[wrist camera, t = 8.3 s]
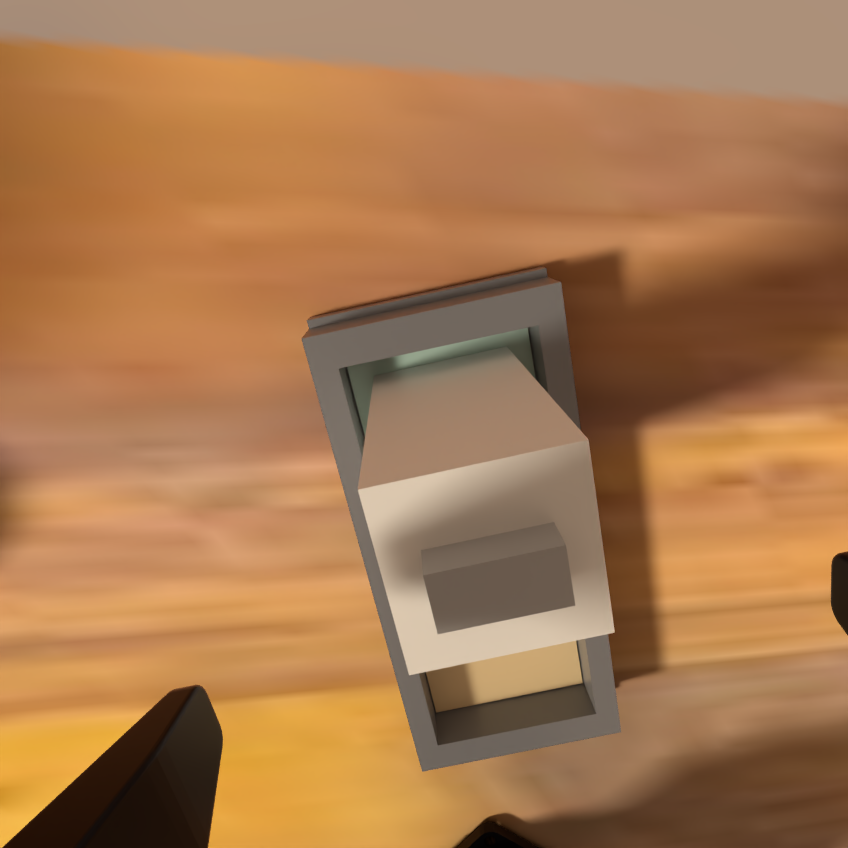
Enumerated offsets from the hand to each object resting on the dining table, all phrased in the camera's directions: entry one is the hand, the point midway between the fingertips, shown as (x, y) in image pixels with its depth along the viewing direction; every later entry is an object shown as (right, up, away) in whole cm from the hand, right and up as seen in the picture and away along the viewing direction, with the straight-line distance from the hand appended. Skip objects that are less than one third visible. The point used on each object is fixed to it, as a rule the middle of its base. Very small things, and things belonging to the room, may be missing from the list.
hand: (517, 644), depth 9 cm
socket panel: (0, 0, +12) cm, 12 cm away
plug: (0, +3, +10) cm, 10 cm away
